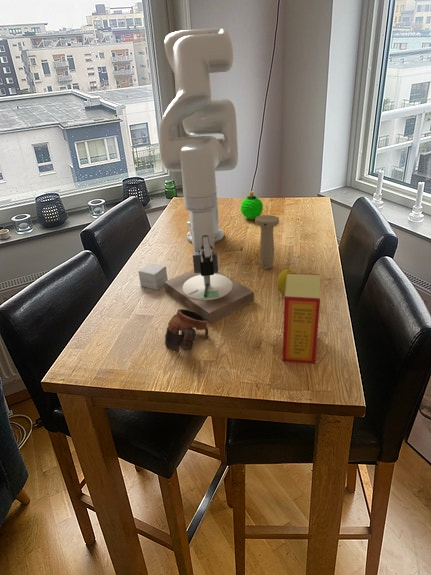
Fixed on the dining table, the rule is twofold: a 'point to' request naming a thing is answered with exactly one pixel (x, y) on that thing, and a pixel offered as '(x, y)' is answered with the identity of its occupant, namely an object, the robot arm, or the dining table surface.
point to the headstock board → (210, 308)
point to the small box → (153, 276)
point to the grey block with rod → (197, 269)
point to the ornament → (251, 206)
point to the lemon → (283, 280)
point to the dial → (215, 290)
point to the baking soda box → (301, 317)
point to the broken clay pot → (184, 330)
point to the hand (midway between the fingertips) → (206, 268)
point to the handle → (267, 239)
